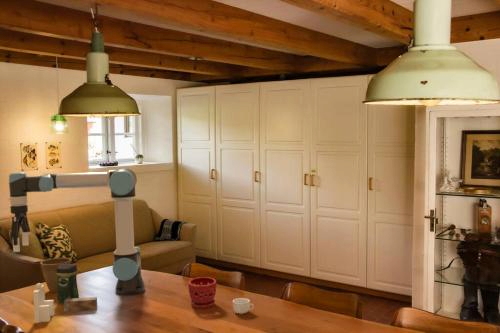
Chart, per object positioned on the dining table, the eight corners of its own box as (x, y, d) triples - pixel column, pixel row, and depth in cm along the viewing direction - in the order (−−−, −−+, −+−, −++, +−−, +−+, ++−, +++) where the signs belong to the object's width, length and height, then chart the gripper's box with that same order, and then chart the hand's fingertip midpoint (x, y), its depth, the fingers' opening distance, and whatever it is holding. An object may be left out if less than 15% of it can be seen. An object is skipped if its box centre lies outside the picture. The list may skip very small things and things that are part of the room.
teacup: (230, 314, 228) (230, 302, 228) (236, 308, 235) (236, 297, 235) (251, 316, 224) (250, 304, 224) (256, 310, 232) (256, 299, 231)
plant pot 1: (77, 288, 271) (76, 259, 270) (54, 296, 259) (52, 265, 257) (60, 284, 279) (58, 256, 278) (36, 292, 267) (34, 262, 265)
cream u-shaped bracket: (54, 314, 233) (53, 279, 232) (49, 322, 223) (47, 285, 222) (40, 315, 232) (38, 280, 231) (34, 323, 222) (32, 286, 221)
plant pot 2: (183, 306, 240) (182, 281, 239) (204, 299, 250) (203, 275, 249) (201, 312, 231) (201, 286, 230) (222, 304, 241) (221, 280, 240)
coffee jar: (81, 298, 254) (79, 262, 253) (72, 304, 246) (71, 266, 245) (64, 298, 256) (62, 261, 255) (55, 303, 248) (53, 266, 247)
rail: (97, 307, 241) (96, 296, 241) (95, 310, 237) (95, 299, 237) (66, 309, 240) (66, 298, 239) (64, 312, 235) (63, 301, 235)
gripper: (19, 201, 255) (21, 243, 256) (1, 209, 230) (3, 255, 232) (34, 201, 256) (36, 242, 257) (18, 208, 231) (21, 254, 233)
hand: (21, 248), depth 245 cm, fingers open, 13 cm apart
